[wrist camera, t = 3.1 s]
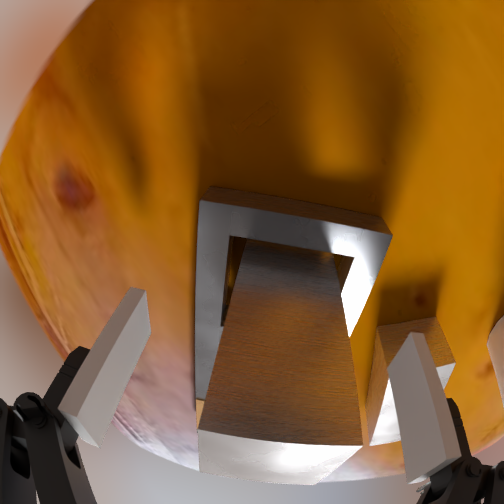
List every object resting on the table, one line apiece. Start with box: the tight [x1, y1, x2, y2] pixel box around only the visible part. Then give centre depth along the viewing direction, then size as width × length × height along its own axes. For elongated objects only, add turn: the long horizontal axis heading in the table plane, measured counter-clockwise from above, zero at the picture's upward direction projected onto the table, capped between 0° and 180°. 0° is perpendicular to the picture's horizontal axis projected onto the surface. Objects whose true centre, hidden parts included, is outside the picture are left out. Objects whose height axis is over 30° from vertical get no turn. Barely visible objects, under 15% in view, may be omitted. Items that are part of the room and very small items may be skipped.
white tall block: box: [198, 238, 363, 485], centre depth 12 cm, size 4×4×11 cm
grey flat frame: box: [195, 186, 393, 433], centre depth 20 cm, size 24×9×2 cm, turn 172°
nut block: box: [365, 316, 456, 446], centre depth 19 cm, size 11×4×4 cm, turn 11°
